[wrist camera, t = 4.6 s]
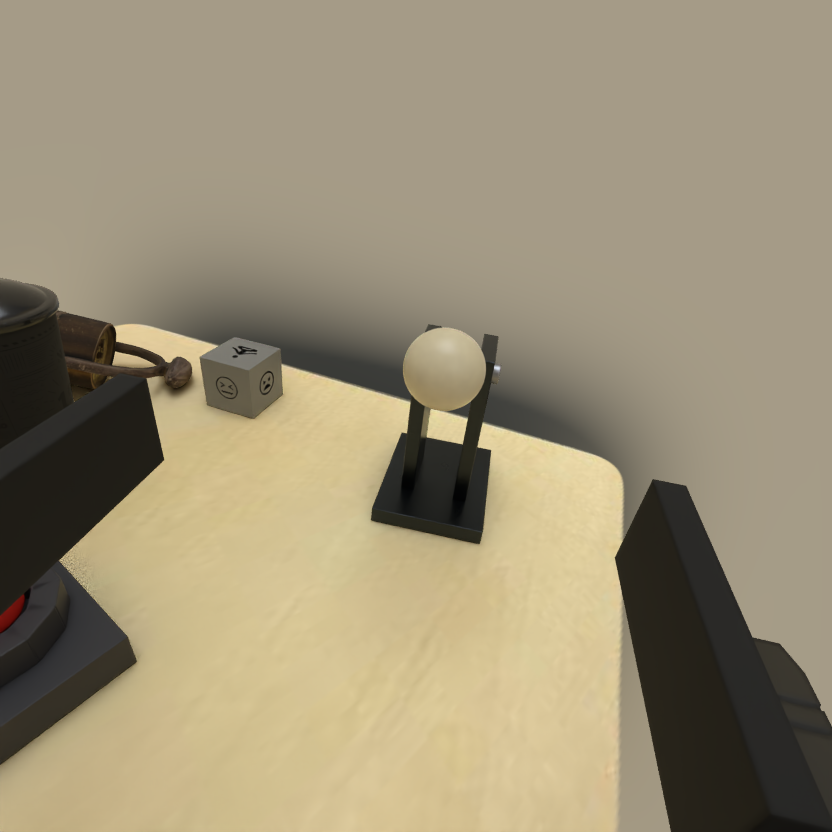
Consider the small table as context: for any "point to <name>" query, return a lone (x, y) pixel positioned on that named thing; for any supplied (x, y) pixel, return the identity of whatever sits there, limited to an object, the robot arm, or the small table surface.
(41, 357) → the drinking cup
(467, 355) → the lever
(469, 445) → the bracket
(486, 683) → the small table surface
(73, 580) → the button box
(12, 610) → the red button
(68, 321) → the brown antique clock
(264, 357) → the dice cube
